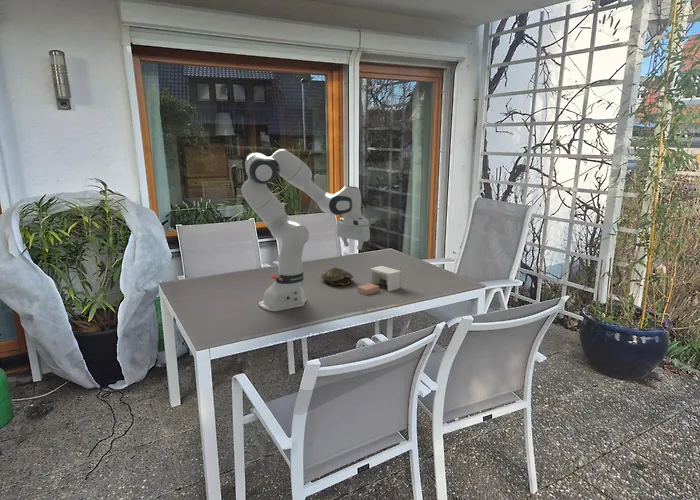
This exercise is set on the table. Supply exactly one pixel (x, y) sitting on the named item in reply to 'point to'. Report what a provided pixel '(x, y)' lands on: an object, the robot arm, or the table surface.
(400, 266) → the table surface
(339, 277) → the turtle shell
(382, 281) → the stop blocks
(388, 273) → the white storage bin
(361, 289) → the tan rectangular block
